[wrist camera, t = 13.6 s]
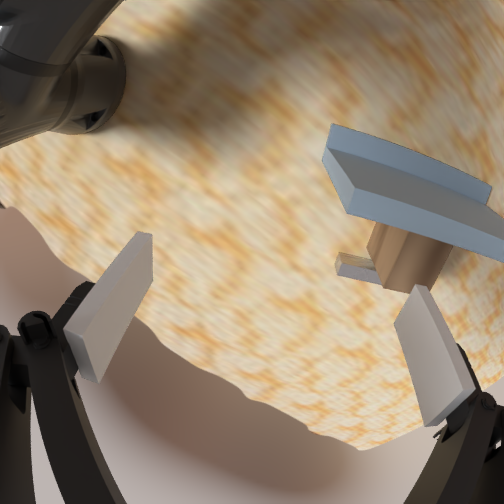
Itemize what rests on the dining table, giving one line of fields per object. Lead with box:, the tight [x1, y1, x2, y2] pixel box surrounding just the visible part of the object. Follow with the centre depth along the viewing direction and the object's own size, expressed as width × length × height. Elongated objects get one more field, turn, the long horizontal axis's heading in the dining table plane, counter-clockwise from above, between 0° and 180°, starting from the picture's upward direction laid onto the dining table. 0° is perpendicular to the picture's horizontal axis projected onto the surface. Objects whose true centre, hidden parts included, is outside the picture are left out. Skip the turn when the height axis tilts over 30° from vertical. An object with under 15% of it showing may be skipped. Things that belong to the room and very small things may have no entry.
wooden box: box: [366, 222, 453, 294], centre depth 35 cm, size 6×11×10 cm, turn 169°
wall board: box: [322, 124, 504, 263], centre depth 28 cm, size 26×5×18 cm, turn 79°
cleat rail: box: [335, 252, 382, 285], centre depth 42 cm, size 14×2×3 cm, turn 79°
